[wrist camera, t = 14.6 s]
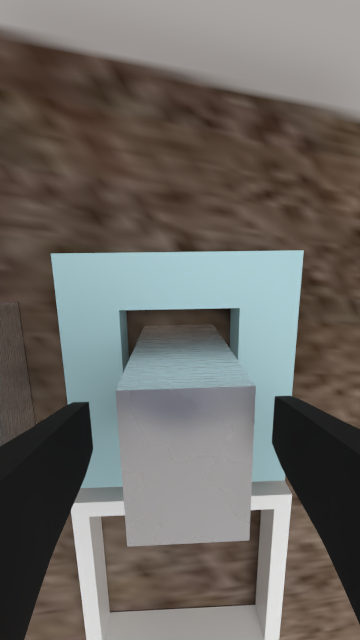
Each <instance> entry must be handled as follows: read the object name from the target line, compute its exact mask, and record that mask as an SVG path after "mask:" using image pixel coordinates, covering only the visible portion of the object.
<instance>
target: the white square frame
mask: <svg viewBox="0 0 360 640" xmlns="http://www.w3.org/2000/svg"><path fill="white" fill-rule="evenodd" d="M291 500H292V493H291V492H290V490H289V488H288V486H287V484H286V482H285V480H283V481H257V482H252V488H251V510H261V521H260V537H259V553H258V570H257V586H256V602H255V605H242V606H223V607H204V608H184V609H165V610H146V611H127V612H110V608H109V598H108V587H107V576H106V565H105V554H104V544H103V533H102V522H101V516H120V515H125V510H124V497H123V487H100V488H80V490H79V492H78V495H77V497H76V499H75V502H74V504H73V506H72V509H71V515H72V523H73V531H74V539H75V548H76V556H77V564H78V573H79V581H80V589H81V597H82V606H83V614H84V622H85V631H86V639H87V640H279V634H280V623H281V612H282V601H283V590H284V579H285V567H286V556H287V545H288V534H289V523H290V511H291Z"/></svg>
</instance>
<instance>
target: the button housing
mask: <svg viewBox="0 0 360 640" xmlns="http://www.w3.org/2000/svg"><path fill="white" fill-rule="evenodd" d="M33 426H35V419H34V412H33V405H32V398H31V391H30V384H29V377H28V370H27V363H26V356H25V349H24V342H23V335H22V328H21V321H20V314H19V307H18V302H0V446H2V445H3V444H5V443H7V442H8V441H10V440H12V439H13V438H15V437H17V436H19V435H20V434H22V433H24V432H25V431H27V430H29V429H30V428H32V427H33Z"/></svg>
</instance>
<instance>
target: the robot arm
mask: <svg viewBox="0 0 360 640" xmlns="http://www.w3.org/2000/svg"><path fill="white" fill-rule="evenodd" d="M272 445H273V447H274V450H275V452H276V455H277V457H278V460H279V462H280V465H281V467H282V469H283V471H284V473H285V475H286V476H287V478H288V480H289V482H290V484H291V485H292V487H293V489H294V491H295V493H296V494H297V496H298V498H299V500H300V501H301V503H302V505H303V507H304V509H305V510H306V512H307V514H308V516H309V517H310V519H311V521H312V523H313V524H314V526H315V528H316V530H317V532H318V534H319V536H320V538H321V539H322V541H323V543H324V545H325V547H326V549H327V552H328V554H329V556H330V558H331V560H332V563H333V565H334V567H335V569H336V571H337V574H338V576H339V578H340V580H341V582H342V585H343V587H344V589H345V591H346V594H347V596H348V598H349V601H350V603H351V605H352V608H353V610H354V612H355V615H356V617H357V619H358V621H359V624H360V429H358V428H356V427H354V426H352V425H350V424H347V423H345V422H343V421H341V420H339V419H337V418H335V417H333V416H331V415H329V414H327V413H325V412H324V411H322V410H320V409H318V408H316V407H314V406H312V405H310V404H308V403H306V402H304V401H302V400H300V399H297V398H295V397H292V396H275V400H274V415H273V430H272ZM92 452H93V440H92V430H91V419H90V408H89V402H72V403H70V404H68V405H67V406H65V407H63V408H62V409H60V410H58V411H57V412H55V413H54V414H52V415H51V416H49V417H47V418H46V419H44V420H43V421H41V422H40V423H38V424H37V425H35V426H33V427H32V428H30V429H29V430H27V431H25V432H24V433H22V434H20V435H19V436H17V437H15V438H13V439H12V440H10V441H8V442H7V443H5V444H3V445H2V446H0V640H24V638H25V635H26V632H27V629H28V625H29V622H30V619H31V616H32V613H33V610H34V607H35V603H36V600H37V597H38V594H39V591H40V588H41V585H42V582H43V579H44V577H45V574H46V571H47V568H48V565H49V562H50V559H51V556H52V554H53V551H54V549H55V546H56V543H57V541H58V539H59V536H60V534H61V532H62V530H63V527H64V525H65V523H66V520H67V518H68V516H69V513H70V511H71V509H72V506H73V504H74V502H75V499H76V497H77V495H78V492H79V490H80V488H81V485H82V483H83V481H84V478H85V476H86V473H87V469H88V466H89V463H90V459H91V455H92Z"/></svg>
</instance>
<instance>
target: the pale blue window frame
mask: <svg viewBox="0 0 360 640" xmlns="http://www.w3.org/2000/svg"><path fill="white" fill-rule="evenodd" d="M303 252H304V250H302V251H222V252H142V253H62V254H51V259H52V268H53V277H54V286H55V295H56V304H57V313H58V322H59V331H60V339H61V348H62V357H63V366H64V375H65V384H66V393H67V402H68V404H70V403H72V402H89V408H90V419H91V430H92V440H93V452H92V455H91V459H90V463H89V466H88V469H87V473H86V476H85V478H84V481H83V483H82V485H81V488H100V487H123V484H122V471H121V458H120V445H119V432H118V419H117V406H116V393H115V390H116V388H117V386H118V383H119V381H120V379H121V377H122V375H123V372H124V370H125V368H126V366H127V363H128V361H129V350H128V333H127V315H126V310H165V309H218V308H231V316H230V350H231V351H232V352H233V354H234V355H235V357H236V358H237V360H238V361H239V362H240V364H241V365H242V367H243V368H244V370H245V371H246V372H247V374H248V375H249V377H250V378H251V380H252V381H253V383H254V384H255V385H256V395H255V418H254V442H253V465H252V482H257V481H283V480H285V473H284V471H283V469H282V467H281V465H280V462H279V460H278V457H277V455H276V452H275V450H274V447H273V445H272V430H273V415H274V400H275V396H292V387H293V374H294V362H295V350H296V338H297V325H298V313H299V301H300V289H301V276H302V264H303Z"/></svg>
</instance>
